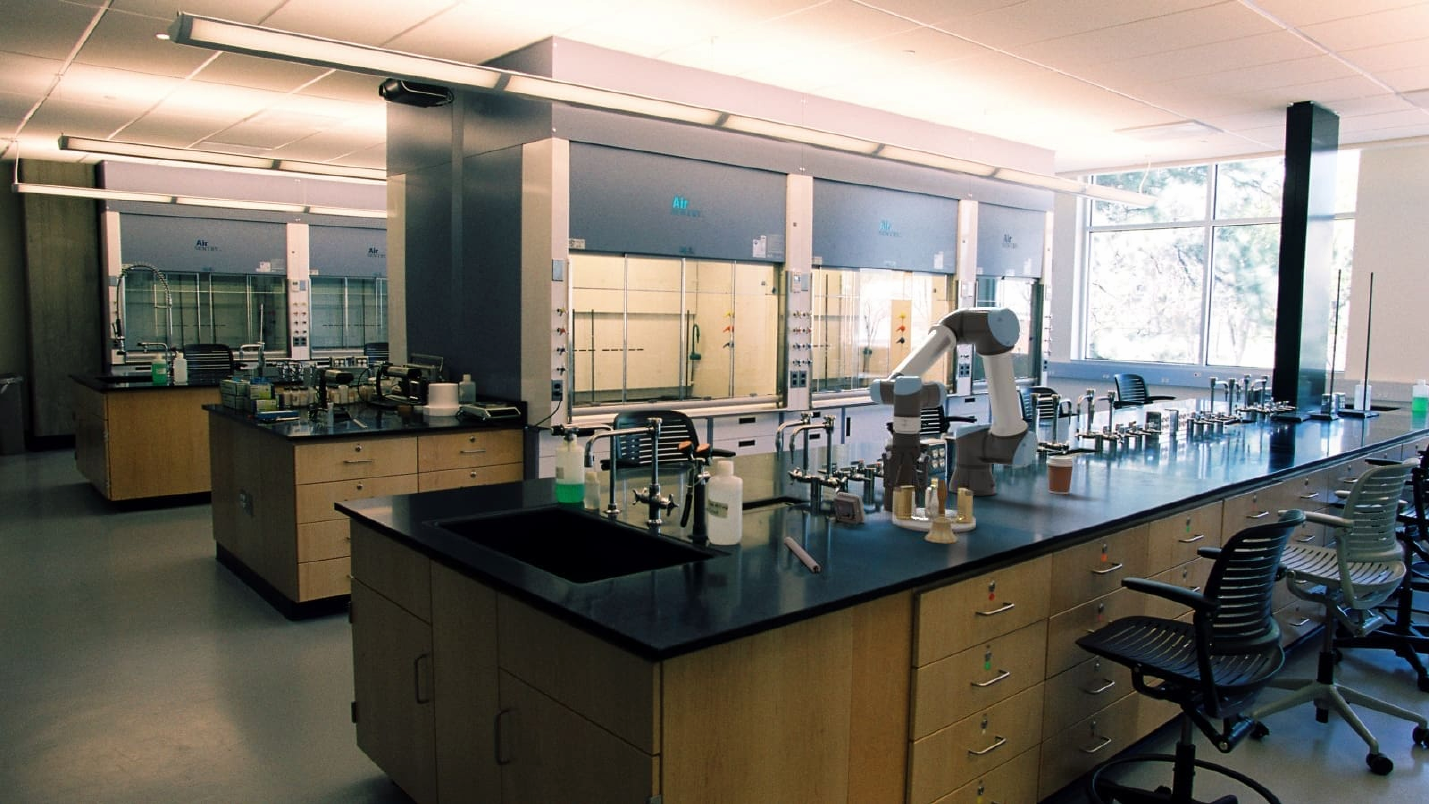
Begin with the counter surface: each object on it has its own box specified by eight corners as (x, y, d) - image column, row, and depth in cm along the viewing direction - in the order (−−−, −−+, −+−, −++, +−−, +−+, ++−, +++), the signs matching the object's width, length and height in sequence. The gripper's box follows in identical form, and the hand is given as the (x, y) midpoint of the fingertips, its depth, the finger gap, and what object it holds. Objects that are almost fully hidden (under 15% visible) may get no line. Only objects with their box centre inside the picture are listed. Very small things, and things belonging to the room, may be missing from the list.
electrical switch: (866, 522, 256) (864, 494, 254) (856, 526, 253) (854, 498, 251) (842, 518, 262) (841, 490, 260) (832, 522, 259) (831, 494, 257)
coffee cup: (1069, 490, 308) (1070, 455, 307) (1077, 495, 299) (1078, 459, 298) (1041, 489, 309) (1043, 455, 308) (1048, 494, 300) (1050, 459, 299)
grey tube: (811, 573, 205) (812, 564, 205) (784, 544, 232) (784, 536, 231) (820, 573, 205) (820, 564, 205) (791, 544, 232) (792, 536, 232)
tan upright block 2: (952, 519, 251) (953, 487, 250) (967, 518, 252) (968, 487, 251) (961, 523, 246) (962, 491, 245) (976, 523, 246) (977, 491, 246)
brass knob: (941, 511, 261) (942, 481, 261) (926, 510, 262) (927, 480, 262) (941, 507, 267) (942, 478, 266) (926, 506, 268) (927, 477, 267)
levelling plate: (880, 515, 265) (881, 479, 264) (953, 513, 269) (954, 477, 268) (910, 534, 242) (912, 494, 241) (990, 531, 246) (991, 492, 245)
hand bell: (951, 545, 231) (953, 483, 229) (920, 540, 235) (922, 480, 234) (961, 538, 238) (963, 479, 236) (930, 534, 242) (932, 475, 241)
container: (915, 508, 276) (916, 443, 275) (908, 513, 268) (910, 447, 267) (887, 505, 280) (888, 441, 278) (879, 510, 272) (881, 445, 270)
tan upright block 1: (906, 515, 256) (906, 484, 255) (916, 518, 252) (917, 486, 251) (890, 517, 253) (891, 486, 252) (900, 520, 249) (901, 488, 249)
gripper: (872, 431, 251) (870, 513, 253) (936, 435, 244) (933, 520, 246) (878, 428, 258) (876, 508, 260) (941, 432, 250) (938, 514, 253)
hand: (904, 513), depth 253 cm, fingers open, 5 cm apart
